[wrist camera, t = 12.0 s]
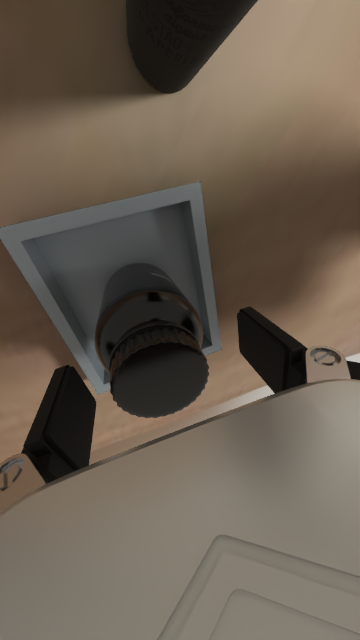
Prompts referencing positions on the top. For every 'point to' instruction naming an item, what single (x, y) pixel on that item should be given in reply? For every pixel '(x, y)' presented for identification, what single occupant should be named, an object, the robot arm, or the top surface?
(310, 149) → the top surface
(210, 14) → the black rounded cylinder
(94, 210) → the tray
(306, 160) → the top surface
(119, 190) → the top surface
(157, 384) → the supplement bottle
